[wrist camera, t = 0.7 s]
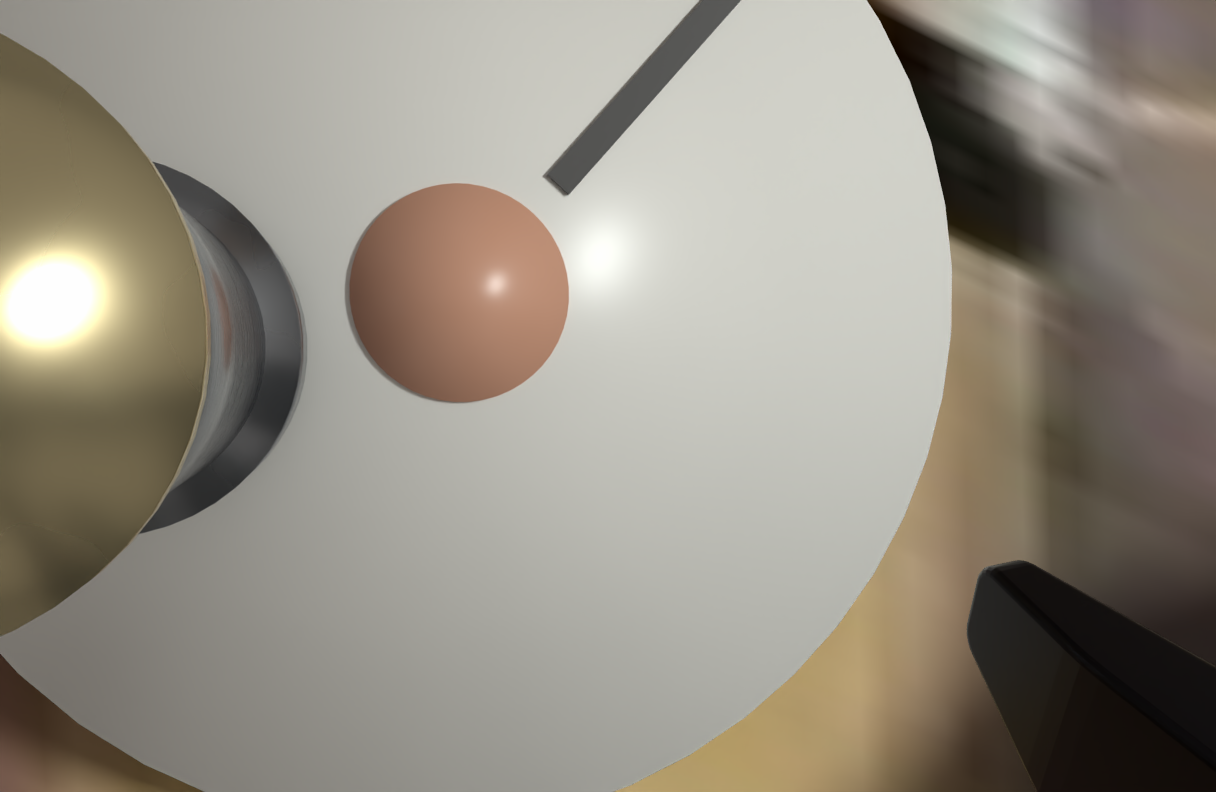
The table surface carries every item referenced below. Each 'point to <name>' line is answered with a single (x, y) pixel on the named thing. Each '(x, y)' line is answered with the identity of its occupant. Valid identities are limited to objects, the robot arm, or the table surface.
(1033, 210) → the table surface
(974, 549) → the table surface
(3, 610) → the brass-topped metal cylinder
